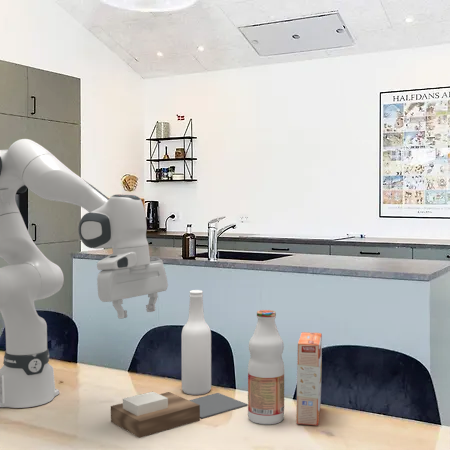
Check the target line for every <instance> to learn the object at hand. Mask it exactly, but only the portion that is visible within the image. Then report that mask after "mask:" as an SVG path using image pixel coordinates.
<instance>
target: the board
mask: <svg viewBox="0 0 450 450" xmlns="http://www.w3.org/2000/svg"><path fill="white" fill-rule="evenodd" d="M160 395H162V396H164V397H166V398H168V408H166V409H162V410H158V411H154V412H150V413H147V414H143V415H139V416H136V415H135V414H133V413H131V412H129V411H127V410H125V409H123V402H122V403H118V404H113V405H110V422H111V423H113V424H115V425H116V426H118V427H120V428H122V429H123V430H125V431H127V432H128V433H130V434H131V435H134V436H135V437H137V438H139V439H141V438H144V437H149V436H152V435H155V434H159V433H161V432H165V431H168V430H172V429H175V428H178V427H182V426H185V425H188V424H193V423H196V422H200V420H201V418H200V405H199V404H196V403H194V402H191V401H189V400H190V399H187V398H184V397H182V396H180V395H177V394H174V393H172V392H170V391H167V392H163V393H160Z"/></svg>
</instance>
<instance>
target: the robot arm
mask: <svg viewBox="0 0 450 450" xmlns="http://www.w3.org/2000/svg"><path fill="white" fill-rule="evenodd" d="M27 190H30V191H31V192H32V193H33V194H35V195H37V196H38V197H39V198H41V199H44V200H47V201H54V202H61V203H62V202H63V203H68V204H71V205H76V206H78V207H81V208H82V209H84V210H86V211H87V213H85V214H84V215H82V217H81V218H80V221H79V223H78V231H77V232H78V235H79V239H80V240H81V242H82V244H83V245H84V246H85V247H87V248H89V249H96V250H99V249H110V248H112V253H111V254H109V255H108V256H106V257H105V258H102V259H100V260H98V262H96V268H97V270H98V271H99V273H98V274H97V278H96V280H97V284H96V285H97V295H98V299H99V300H100V301H101V302H102V303H106V302H107V303H111V302H112V306H113V307H114V309H115V311H116V312H117V317H118V319H119V320H120V319H126V318H128V311H127V310H126V309H125V310H124V307H123V306H122V305H123V304H124V302H123V300H127V299H130V298H131V299H132V298H135V297H141V296H146V295H147V297H148V298H149V299H148V304H145V308H146V309H145V310H146V312H147V313H153V312H155V311H156V303H157V301H158V297H159V295H158V293H161V292H167V290H168V286H169V284H168V278H167V277H168V276H167V273H166V268H165V267H164V262H163V259H162V258H160V257H159V256H158V255H154V256H150V246H149V242H148V239H147V230H148V229H147V228H148V226H147V217H146V211H145V206H144V204H143V200H142V199H141V198H140V197H139V196H137V195H134V194H113V195H111V196H110V197H107V196H106V195H105V194H103V193H102V192H101V191H100V190H99V189H98V188H96V187H94V185H92V184H91V183H89V182H88V181H86V180H85V179H84V178H82V177H81V176H79V175H78V174H76V173H75V172H74V171H72V170H71V168H69V167H67V165H65V164H64V163H63V162H62V161H61V160H59V159H58V158H57V157H56V156H55V155H54V154H53V153H52V152H50V151H49V150H48V149H47V148H45V147H44V146H42V145H41V144H39V143H37V142H36V141H34V140H32V139H30V138H29V139H28V138H22V139H21V138H20V139H18V140H16V141H14V142H13V143H11V145H10V146H9V147H8V149H0V259H2V260H4V261H5V262H6V263H7V265H4V266H1V267H0V314H1V317H2V320H3V322H4V323H3V324H4V328H5V330H4V331H5V349H6V350H5V351H4V354H3V355H4V356H3V362H2V364H3V366H1V368H0V408H15V409H17V408H19V409H21V408H22V409H23V408H31V407H37V406H41V405H45V404H47V403H49V402H51V401H52V400H53V399H54V398H55V397H56V396H58V395H59V394H60V390H59V389H58V388H56V383H55V372H54V371H55V370H54V367H53V366H52V365H51V364H49V362H50V351H49V348H48V325H47V322H46V320H45V318H43V317H41V316H40V315H39V314H38V312H37V310H36V305H35V301H39V300H43V299H44V300H45V299H47V298H49V297H51V296H53V295H55V294H57V293H58V292H60V291H61V289H62V287H63V285H64V281H65V280H64V279H65V278H64V273H63V270H62V269H61V267H60V266H59V265H58V264H56V263H54V262H53V261H51V260H50V259H49V258H48V257H46V256H45V254H44V253H43V252H42V251H41V250H40V248H39V247H38V246H37V245H36V244H35V242H34V241H33V239H32V237H31V234H30V232H29V231H28V228H27V226H26V224H25V221H24V218H23V216H22V214H21V212H20V209H19V207H18V204H17V201H16V196H17V195H16V194H17V193H19V194H24V193H25V192H27Z"/></svg>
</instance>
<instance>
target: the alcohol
mask: <svg viewBox="0 0 450 450" xmlns="http://www.w3.org/2000/svg"><path fill="white" fill-rule="evenodd" d="M203 293H204V291H203V290H201V289H193V290H190V291H189V307H188V319H187V322H186V323H185V324H184V326H183V327H182V330H181V390H182V392H183V393H184V394H187V395H190V396H200V395H206V394H208V393H210V391H211V389H212V331H211V328H210V326H209V324H208V323H207V322H206V320H205V315H204V313H205V312H204V302H203V301H204V300H203V297H204V295H203Z"/></svg>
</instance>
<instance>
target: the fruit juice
mask: <svg viewBox="0 0 450 450" xmlns="http://www.w3.org/2000/svg"><path fill="white" fill-rule="evenodd" d="M276 316H277V313H276V311H275V310H270V309H262V310H261V309H260V310H257V312H256V318H257V322H256V326H255V329H254V330H253V331H254V332H253V334H252V336H251V337H250V339H249V342H248V350H249V351H248V352H249V355H250V358H249V360H248V364H247V404H248V406H247V416H248V419H249V421H251V422H253V423H255V424H258V425H259V424H260V425H275V424H279V423H281V422H283V420H284V419H285V363H284V359H283V353H284V350H285V344H284V340H283V338H282V337H281V335H280V333H279V330H278V328H277V324H276V321H275V319H276Z"/></svg>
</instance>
